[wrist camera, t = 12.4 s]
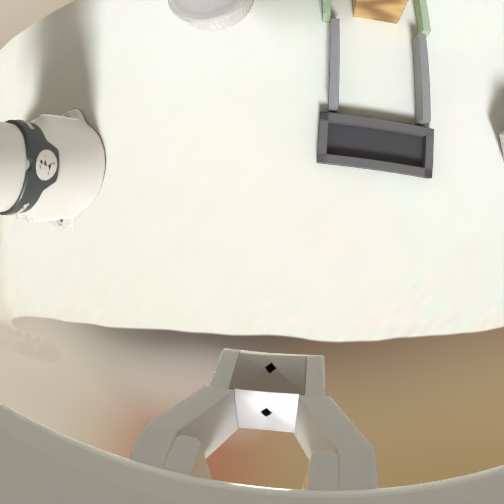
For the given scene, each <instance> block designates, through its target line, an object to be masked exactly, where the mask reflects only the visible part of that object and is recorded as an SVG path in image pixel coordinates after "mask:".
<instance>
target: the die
mask: <svg viewBox="0 0 504 504" xmlns="http://www.w3.org/2000/svg"><path fill="white" fill-rule="evenodd" d="M499 136H500V141H501V147H502V152H503V158H504V130H503V131H502V132H501V133H500V134H499Z"/></svg>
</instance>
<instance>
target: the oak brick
mask: <svg viewBox="0 0 504 504" xmlns="http://www.w3.org/2000/svg"><path fill="white" fill-rule="evenodd" d="M407 2H408V0H353V17H360V18H367V19H373V20H379V21H385V22H390V23H395V24H397V23H398V21H399V19H400V17H401V15H402V13H403V10H404V8H405V6H406V4H407Z"/></svg>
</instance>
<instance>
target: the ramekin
mask: <svg viewBox="0 0 504 504" xmlns="http://www.w3.org/2000/svg"><path fill="white" fill-rule="evenodd" d="M168 4H169V7H170V9H171V10H172V12H173V13H174V14H175V15H176V16H177V17H179V18H181V19H182V20H185V21H187V22H188V23H190V24H191V25H193V26H194V27H196V28H199V29H202V30H209V31H215V30H221V29H225V28H228V27H230V26H233V25H235V24H237V23H238V22H239V21H241V20H242V19H243V18H244V17H245V16H246V15H247V14H248V13H249V11H250V9H251V7H252V4H253V0H168Z"/></svg>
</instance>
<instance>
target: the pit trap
mask: <svg viewBox="0 0 504 504" xmlns="http://www.w3.org/2000/svg"><path fill="white" fill-rule="evenodd" d="M433 145H434V129H431V128H426V127H421V126H416V125H411V124H406V123H400V122H395V121H389V120H382V119H376V118H369V117H362V116H355V115H346V114H338V113H328V112H320V121H319V138H318V154H317V163H322V164H331V165H340V166H349V167H357V168H364V169H372V170H379V171H386V172H393V173H399V174H405V175H411V176H417V177H423V178H432V169H433Z"/></svg>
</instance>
